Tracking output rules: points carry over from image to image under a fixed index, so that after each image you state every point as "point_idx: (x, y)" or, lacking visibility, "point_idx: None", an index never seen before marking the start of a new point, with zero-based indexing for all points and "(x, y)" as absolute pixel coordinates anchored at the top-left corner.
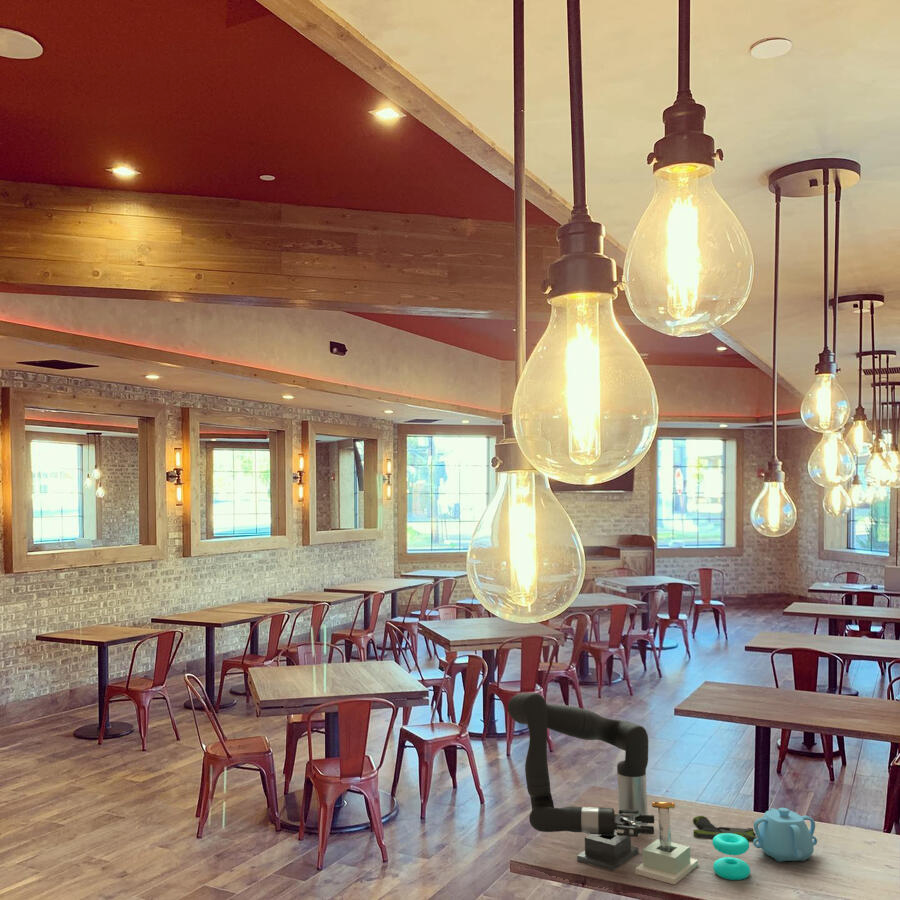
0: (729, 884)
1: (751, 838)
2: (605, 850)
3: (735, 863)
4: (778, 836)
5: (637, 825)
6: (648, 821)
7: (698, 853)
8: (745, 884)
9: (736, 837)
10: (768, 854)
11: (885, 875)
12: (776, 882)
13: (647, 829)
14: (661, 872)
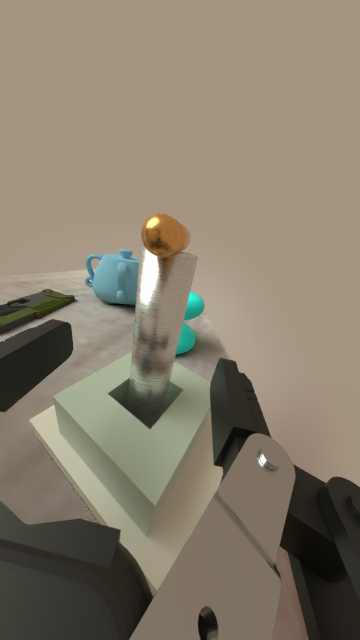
0: (203, 352)
1: (72, 298)
2: None
3: None
4: None
5: (277, 466)
6: (48, 366)
7: (77, 351)
8: (199, 340)
9: None
10: (131, 303)
11: None
12: (189, 321)
13: (252, 399)
14: (203, 457)
